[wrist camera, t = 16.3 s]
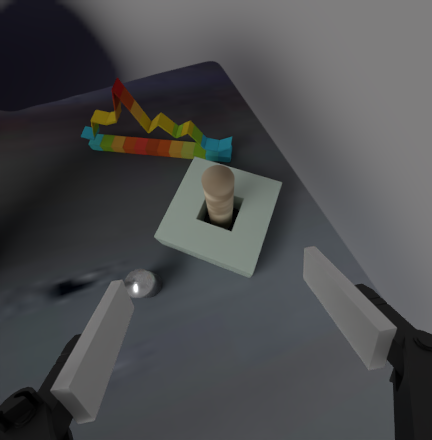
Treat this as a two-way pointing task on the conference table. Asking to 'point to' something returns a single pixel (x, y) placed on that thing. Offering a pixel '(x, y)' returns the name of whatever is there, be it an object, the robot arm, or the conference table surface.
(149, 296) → the short metal pin
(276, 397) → the conference table surface
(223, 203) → the tall beech pin
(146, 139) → the chart
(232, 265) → the hole block
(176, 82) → the conference table surface
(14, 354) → the conference table surface
